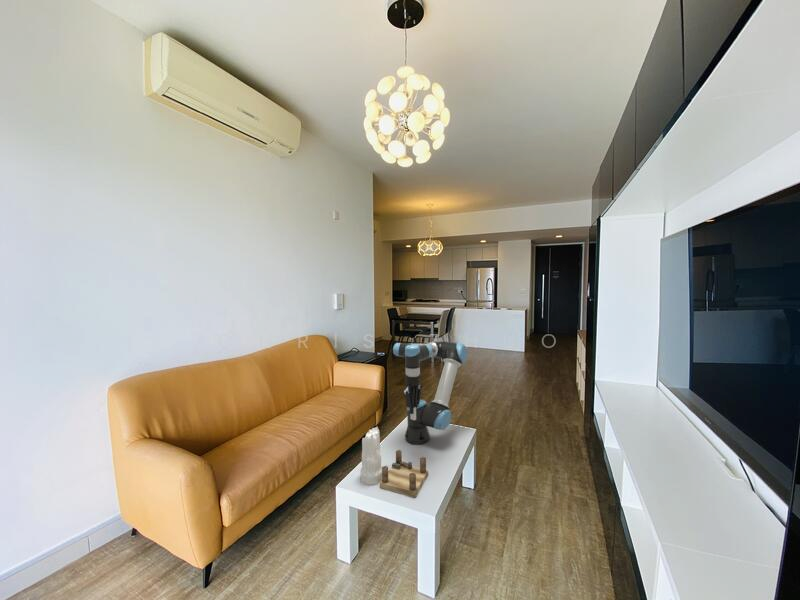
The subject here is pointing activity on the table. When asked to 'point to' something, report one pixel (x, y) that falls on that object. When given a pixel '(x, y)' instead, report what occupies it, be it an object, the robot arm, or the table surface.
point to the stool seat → (404, 478)
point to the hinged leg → (399, 460)
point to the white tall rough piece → (371, 458)
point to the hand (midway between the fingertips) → (413, 419)
